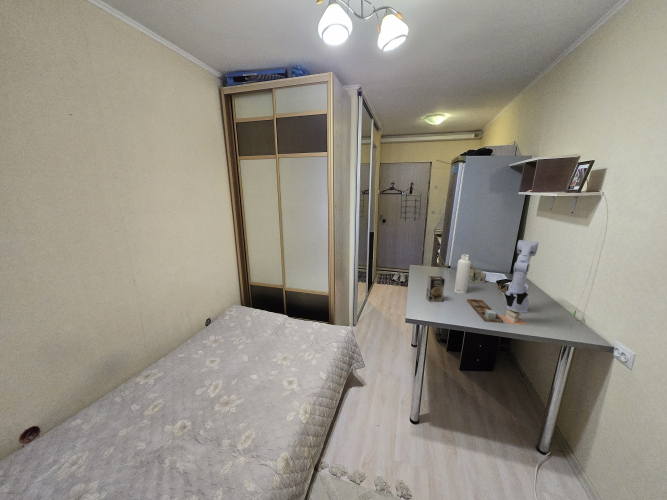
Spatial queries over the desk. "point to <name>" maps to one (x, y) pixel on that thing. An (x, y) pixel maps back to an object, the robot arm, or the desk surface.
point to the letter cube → (513, 315)
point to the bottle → (462, 274)
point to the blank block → (490, 314)
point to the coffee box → (435, 289)
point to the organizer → (483, 310)
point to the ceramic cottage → (476, 275)
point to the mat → (511, 321)
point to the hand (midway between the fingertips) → (514, 305)
